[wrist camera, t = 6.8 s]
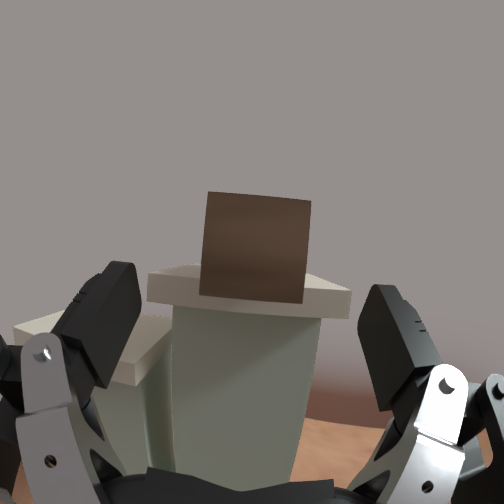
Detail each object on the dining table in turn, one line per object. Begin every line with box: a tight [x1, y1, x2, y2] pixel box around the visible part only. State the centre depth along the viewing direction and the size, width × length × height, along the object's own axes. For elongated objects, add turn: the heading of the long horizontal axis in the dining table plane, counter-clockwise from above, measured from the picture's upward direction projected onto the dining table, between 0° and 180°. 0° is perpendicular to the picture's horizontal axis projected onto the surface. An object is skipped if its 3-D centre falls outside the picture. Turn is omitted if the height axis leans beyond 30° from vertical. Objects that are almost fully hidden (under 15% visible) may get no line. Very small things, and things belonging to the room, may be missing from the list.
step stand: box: [13, 263, 352, 491], centre depth 26 cm, size 15×29×32 cm, turn 90°
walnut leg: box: [199, 192, 311, 304], centre depth 20 cm, size 22×4×4 cm, turn 0°
